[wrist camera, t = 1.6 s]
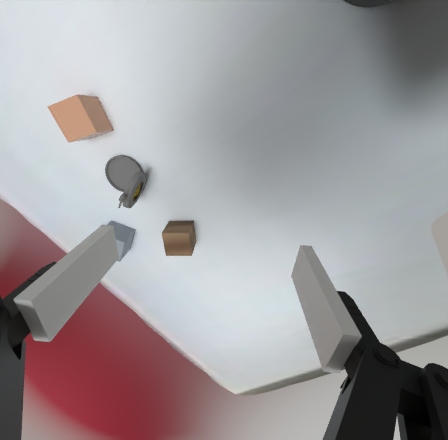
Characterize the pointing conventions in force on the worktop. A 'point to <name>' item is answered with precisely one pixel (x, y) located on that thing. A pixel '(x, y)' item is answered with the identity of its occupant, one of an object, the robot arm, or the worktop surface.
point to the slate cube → (122, 238)
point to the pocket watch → (126, 179)
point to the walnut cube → (179, 238)
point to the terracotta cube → (81, 117)
